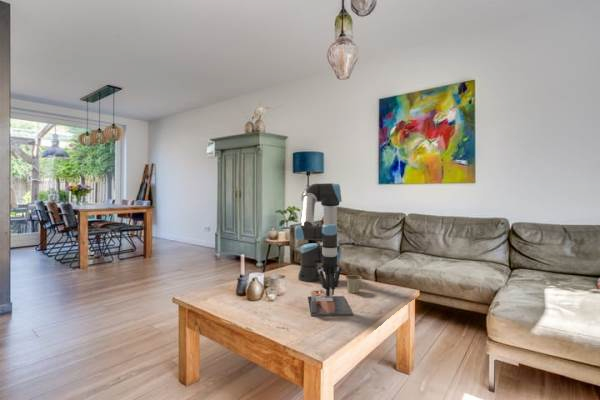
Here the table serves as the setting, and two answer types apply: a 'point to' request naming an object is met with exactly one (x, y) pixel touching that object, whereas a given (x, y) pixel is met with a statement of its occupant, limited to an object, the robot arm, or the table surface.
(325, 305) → the link
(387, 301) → the table surface
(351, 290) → the flower pot
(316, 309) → the pintle base
